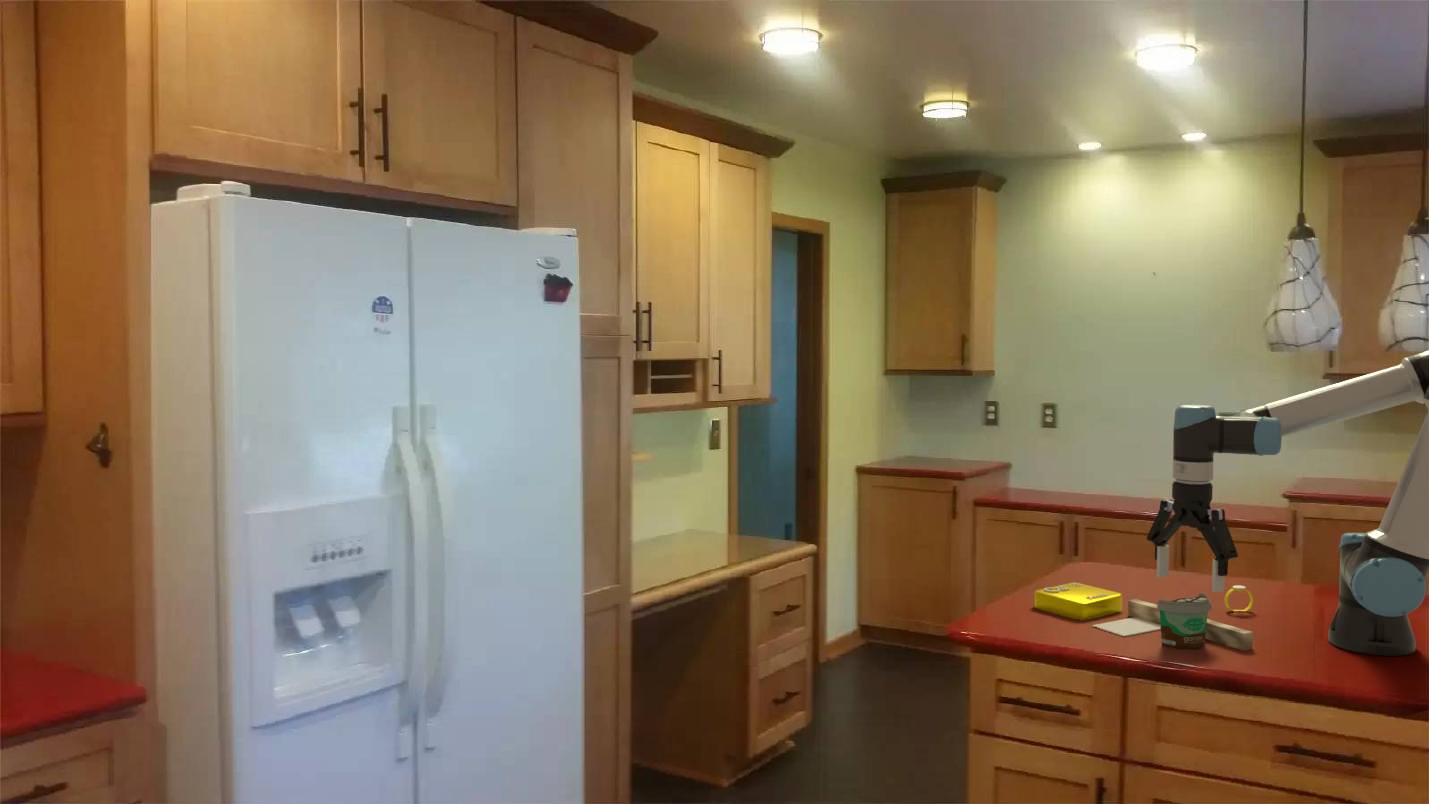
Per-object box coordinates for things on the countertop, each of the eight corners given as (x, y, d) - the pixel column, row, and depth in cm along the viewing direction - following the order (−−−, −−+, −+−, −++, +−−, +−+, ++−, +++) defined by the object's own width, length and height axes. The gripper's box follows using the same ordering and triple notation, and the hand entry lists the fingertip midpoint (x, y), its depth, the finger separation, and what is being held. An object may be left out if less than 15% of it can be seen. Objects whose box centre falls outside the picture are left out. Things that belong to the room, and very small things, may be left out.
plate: (1167, 628, 232) (1167, 627, 232) (1123, 637, 226) (1123, 635, 226) (1135, 618, 240) (1135, 617, 240) (1092, 626, 235) (1092, 625, 235)
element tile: (1082, 623, 239) (1082, 602, 239) (1030, 608, 252) (1030, 588, 252) (1125, 612, 247) (1126, 592, 247) (1073, 599, 260) (1073, 579, 259)
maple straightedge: (1252, 648, 217) (1252, 631, 216) (1242, 650, 215) (1242, 634, 215) (1136, 614, 244) (1136, 599, 243) (1126, 615, 242) (1126, 600, 242)
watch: (1228, 614, 243) (1226, 589, 243) (1223, 611, 246) (1222, 586, 245) (1255, 613, 242) (1254, 587, 242) (1251, 609, 245) (1249, 584, 245)
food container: (1180, 655, 214) (1181, 606, 213) (1156, 647, 219) (1156, 599, 219) (1224, 646, 219) (1225, 598, 218) (1200, 638, 224) (1201, 592, 223)
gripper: (1130, 474, 226) (1128, 572, 228) (1233, 491, 204) (1229, 600, 205) (1156, 472, 229) (1153, 568, 231) (1259, 488, 207) (1256, 595, 209)
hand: (1189, 583), depth 218 cm, fingers open, 13 cm apart
